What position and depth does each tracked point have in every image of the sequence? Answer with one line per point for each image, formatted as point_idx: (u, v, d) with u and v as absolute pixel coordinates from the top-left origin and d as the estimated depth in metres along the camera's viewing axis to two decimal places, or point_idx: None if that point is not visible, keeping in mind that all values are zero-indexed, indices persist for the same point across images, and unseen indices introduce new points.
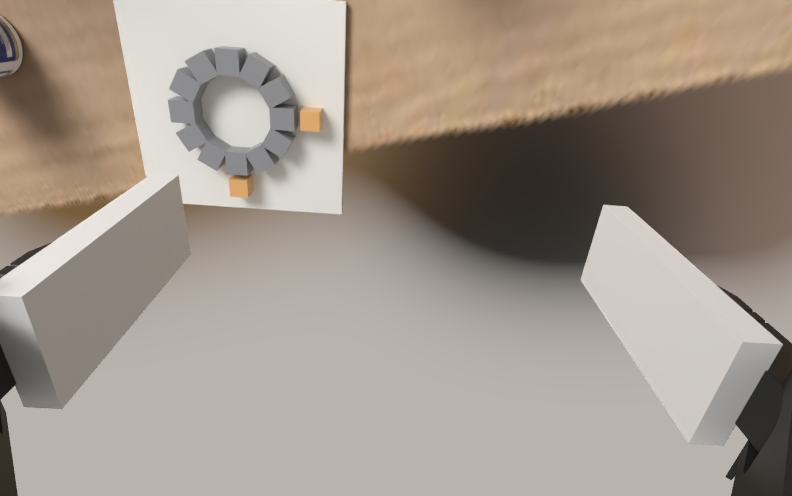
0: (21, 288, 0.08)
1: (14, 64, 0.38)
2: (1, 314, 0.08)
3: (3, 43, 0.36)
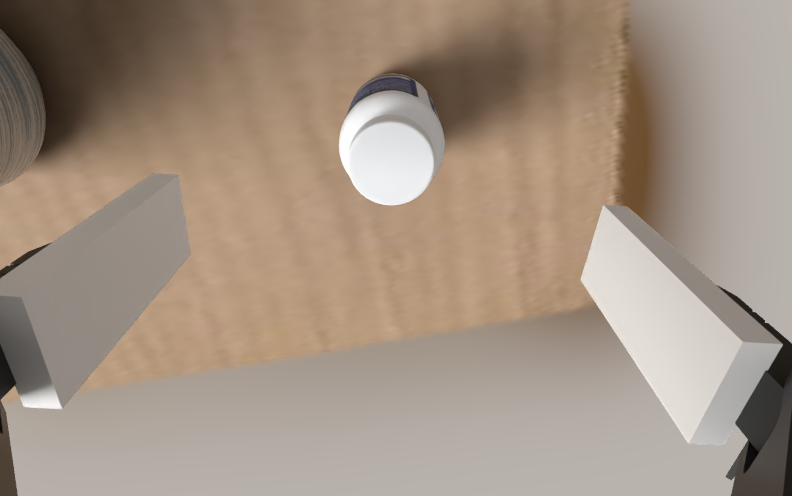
0: (21, 288, 0.08)
1: (420, 85, 0.28)
2: (1, 314, 0.08)
3: (392, 76, 0.26)
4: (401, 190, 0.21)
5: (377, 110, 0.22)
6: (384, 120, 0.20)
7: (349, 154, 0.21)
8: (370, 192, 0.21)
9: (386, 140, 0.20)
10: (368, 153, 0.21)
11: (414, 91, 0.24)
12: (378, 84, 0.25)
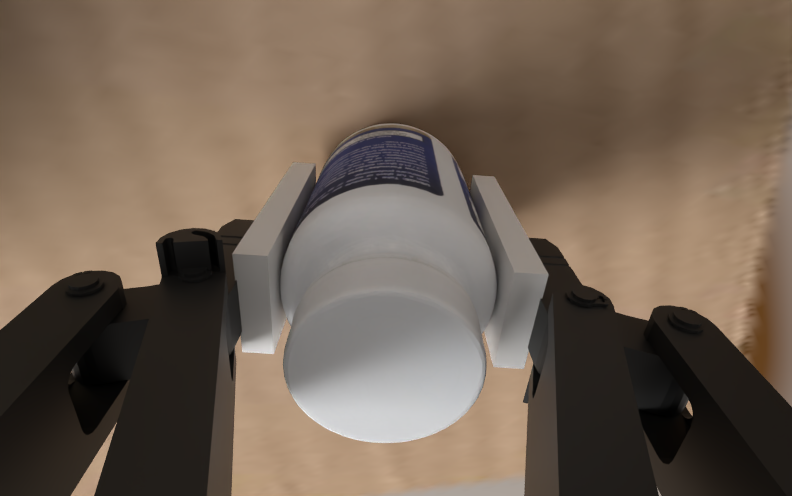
0: (261, 250, 0.10)
1: (440, 145, 0.16)
2: (248, 270, 0.10)
3: (390, 135, 0.14)
4: (409, 418, 0.10)
5: (356, 233, 0.10)
6: (367, 284, 0.08)
7: (286, 355, 0.09)
8: (339, 422, 0.10)
9: (372, 328, 0.08)
10: (329, 353, 0.09)
11: (433, 176, 0.12)
12: (363, 157, 0.13)
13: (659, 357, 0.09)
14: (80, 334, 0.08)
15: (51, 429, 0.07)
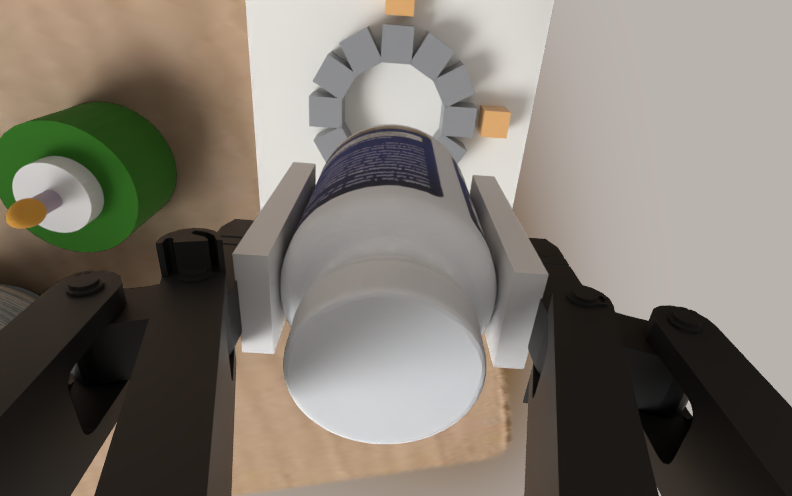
0: (261, 250, 0.10)
1: (440, 146, 0.16)
2: (248, 270, 0.10)
3: (389, 136, 0.14)
4: (409, 419, 0.10)
5: (356, 234, 0.10)
6: (367, 286, 0.08)
7: (286, 356, 0.09)
8: (339, 423, 0.10)
9: (373, 329, 0.08)
10: (329, 354, 0.09)
11: (433, 177, 0.12)
12: (363, 158, 0.13)
13: (660, 357, 0.09)
14: (80, 334, 0.08)
15: (51, 429, 0.07)
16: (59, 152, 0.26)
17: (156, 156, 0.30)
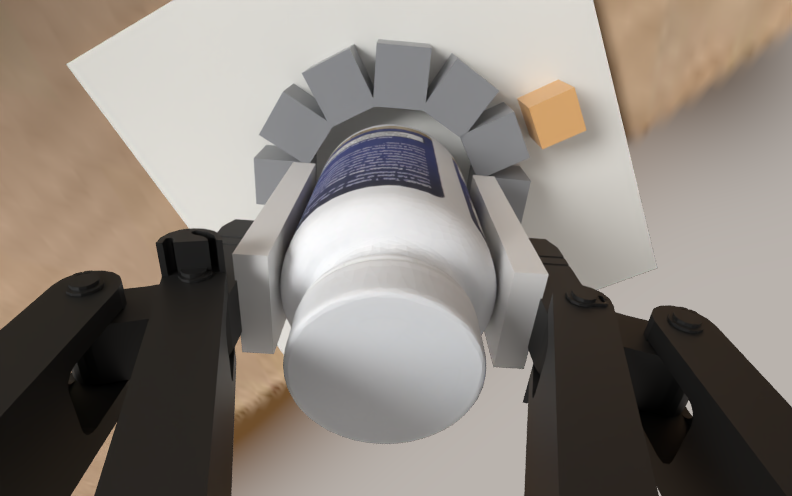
0: (261, 250, 0.10)
1: (441, 146, 0.16)
2: (248, 271, 0.10)
3: (390, 136, 0.14)
4: (408, 419, 0.10)
5: (356, 234, 0.10)
6: (368, 285, 0.08)
7: (286, 355, 0.09)
8: (338, 422, 0.10)
9: (373, 329, 0.08)
10: (330, 353, 0.09)
11: (434, 177, 0.12)
12: (364, 158, 0.13)
13: (659, 357, 0.09)
14: (80, 334, 0.08)
15: (51, 429, 0.07)
16: None
17: None
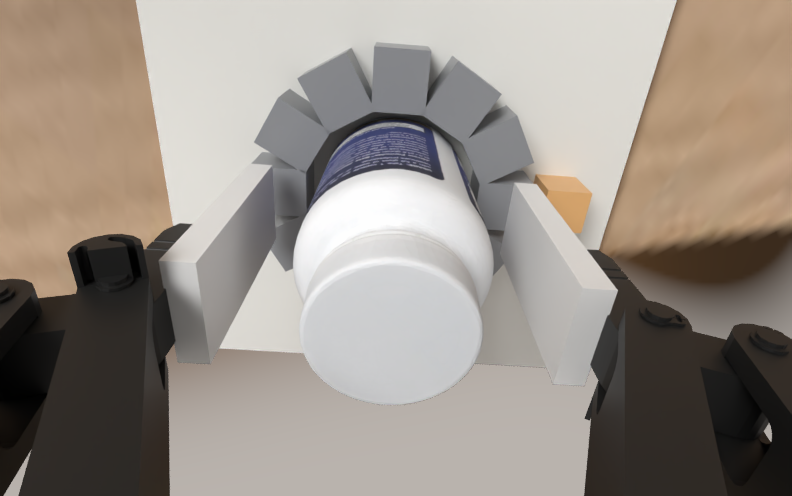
0: (191, 256, 0.10)
1: (440, 136, 0.17)
2: (176, 278, 0.10)
3: (393, 126, 0.15)
4: (413, 381, 0.10)
5: (363, 213, 0.11)
6: (376, 255, 0.09)
7: (302, 321, 0.10)
8: (349, 385, 0.11)
9: (381, 296, 0.09)
10: (342, 318, 0.10)
11: (435, 163, 0.13)
12: (369, 146, 0.14)
13: (744, 379, 0.09)
14: None
15: None
16: None
17: None
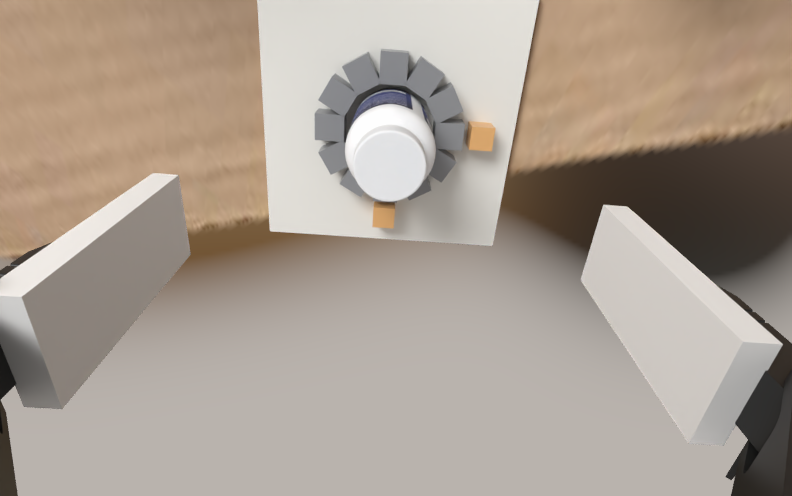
0: (21, 288, 0.08)
1: (415, 98, 0.31)
2: (1, 314, 0.08)
3: (390, 91, 0.30)
4: (398, 188, 0.25)
5: (377, 120, 0.26)
6: (383, 130, 0.24)
7: (354, 158, 0.24)
8: (372, 190, 0.25)
9: (385, 146, 0.24)
10: (370, 157, 0.24)
11: (409, 104, 0.28)
12: (378, 98, 0.28)
13: None
14: None
15: None
16: None
17: None
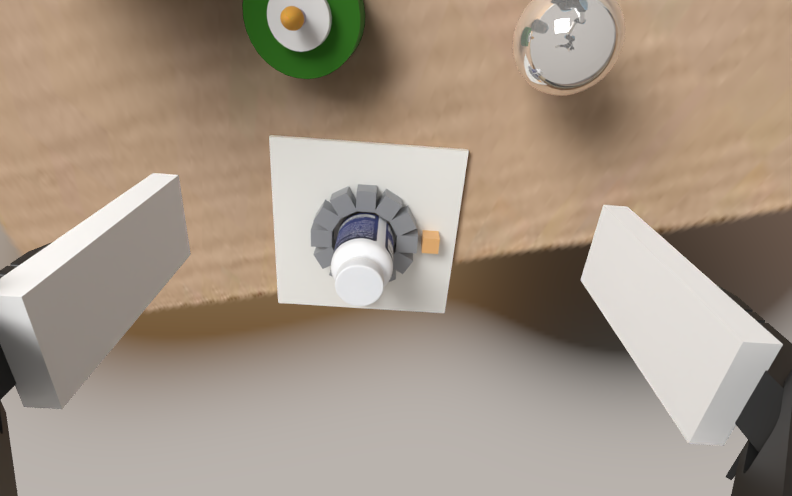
0: (21, 288, 0.08)
1: (382, 218, 0.44)
2: (1, 314, 0.08)
3: (363, 217, 0.43)
4: (365, 298, 0.38)
5: (352, 252, 0.38)
6: (354, 264, 0.37)
7: (335, 281, 0.37)
8: (348, 299, 0.38)
9: (356, 274, 0.37)
10: (346, 280, 0.37)
11: (375, 234, 0.40)
12: (354, 227, 0.41)
13: None
14: None
15: None
16: (334, 23, 0.33)
17: None
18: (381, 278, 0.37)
